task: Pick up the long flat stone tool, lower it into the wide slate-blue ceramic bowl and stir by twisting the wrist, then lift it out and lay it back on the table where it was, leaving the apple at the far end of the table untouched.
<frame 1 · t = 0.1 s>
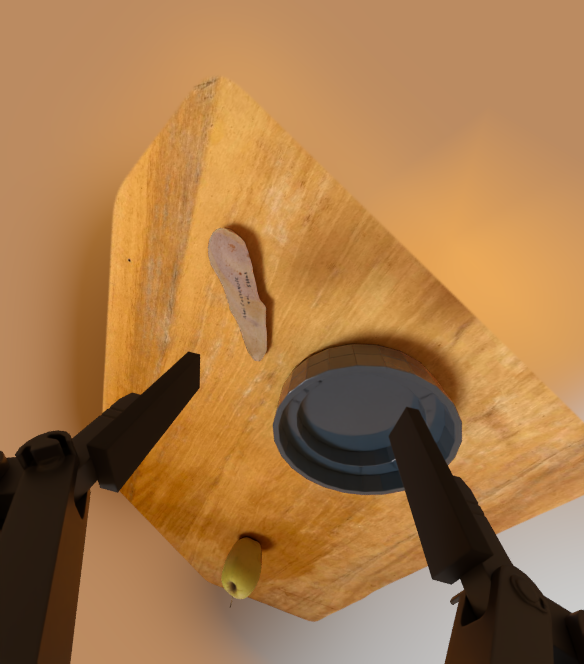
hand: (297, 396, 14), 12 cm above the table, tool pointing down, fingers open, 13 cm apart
stone tool: (246, 299, 25), on the table
apple: (249, 540, 50), on the table
bowl: (355, 408, 30), on the table
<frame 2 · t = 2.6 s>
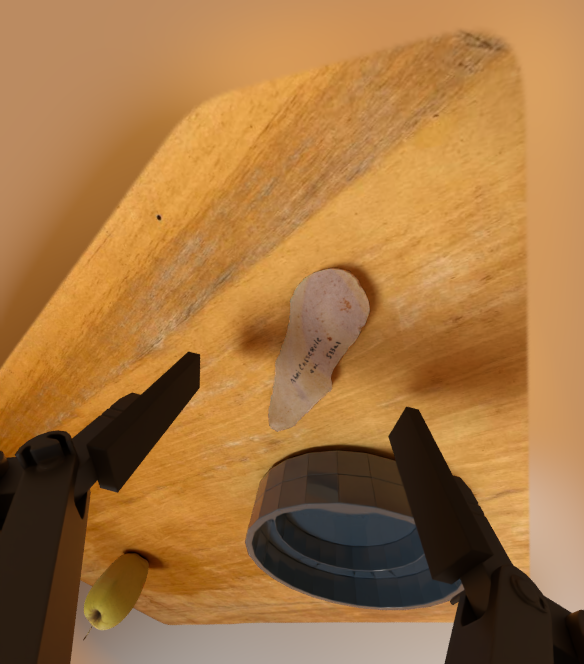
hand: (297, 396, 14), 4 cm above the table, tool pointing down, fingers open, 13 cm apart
stone tool: (305, 357, 18), on the table
apple: (137, 555, 42), on the table
bowl: (345, 505, 25), on the table
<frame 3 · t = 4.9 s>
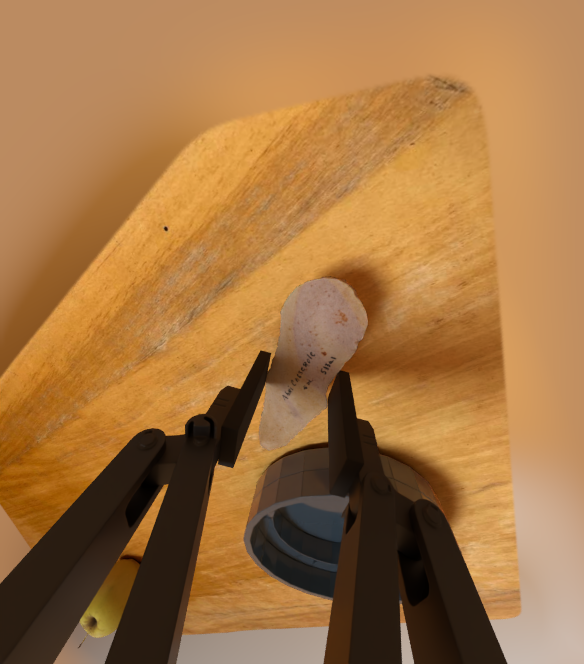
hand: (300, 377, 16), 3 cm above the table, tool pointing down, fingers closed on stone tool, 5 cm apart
stone tool: (298, 372, 16), point 2 cm above the table, touching gripper
apple: (133, 561, 42), on the table
bowl: (341, 502, 26), on the table
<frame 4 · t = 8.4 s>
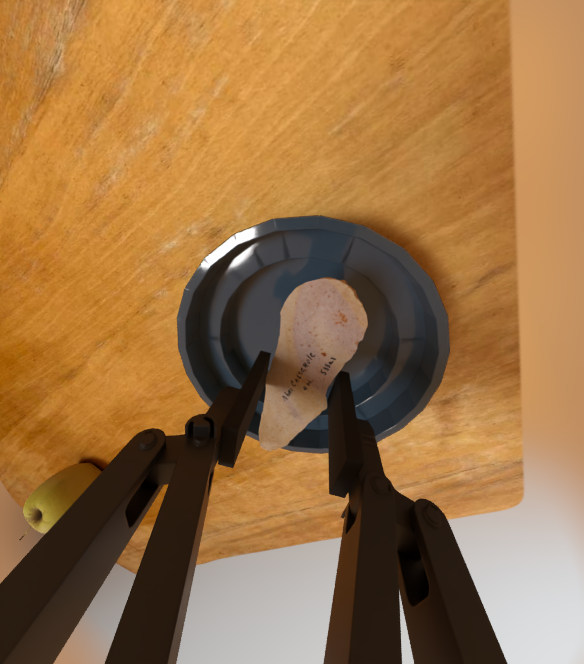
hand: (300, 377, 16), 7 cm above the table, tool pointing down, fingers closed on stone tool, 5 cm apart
stone tool: (298, 372, 16), point 6 cm above the table, touching gripper
apple: (93, 468, 38), on the table
bowl: (307, 336, 22), on the table
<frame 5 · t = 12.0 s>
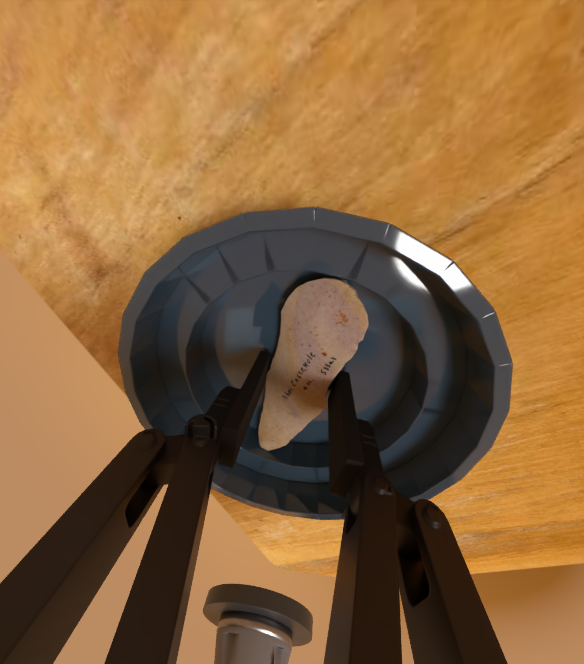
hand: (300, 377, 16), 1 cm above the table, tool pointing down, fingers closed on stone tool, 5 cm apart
stone tool: (298, 372, 16), point 1 cm above the table, touching gripper
bowl: (302, 366, 17), on the table
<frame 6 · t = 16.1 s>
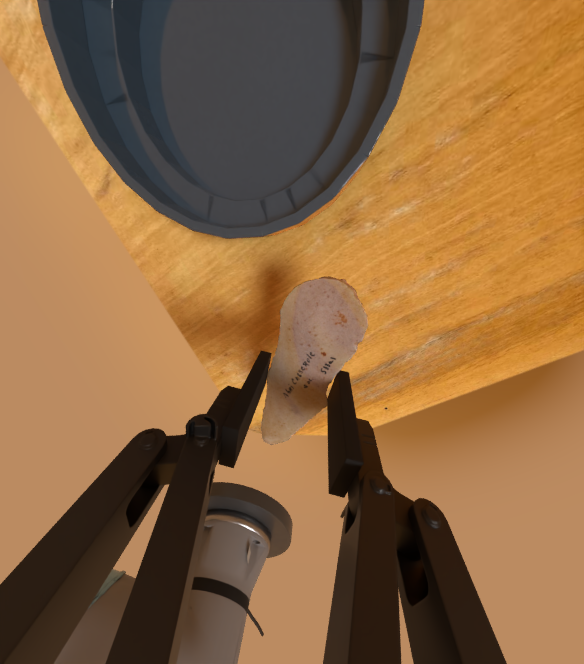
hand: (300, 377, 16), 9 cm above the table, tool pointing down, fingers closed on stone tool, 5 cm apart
stone tool: (299, 370, 16), point 8 cm above the table, touching gripper
bowl: (246, 82, 16), on the table
when the fingers open (0 cm above the table, at t = 19.4 s): stone tool stays where it is, on the table.
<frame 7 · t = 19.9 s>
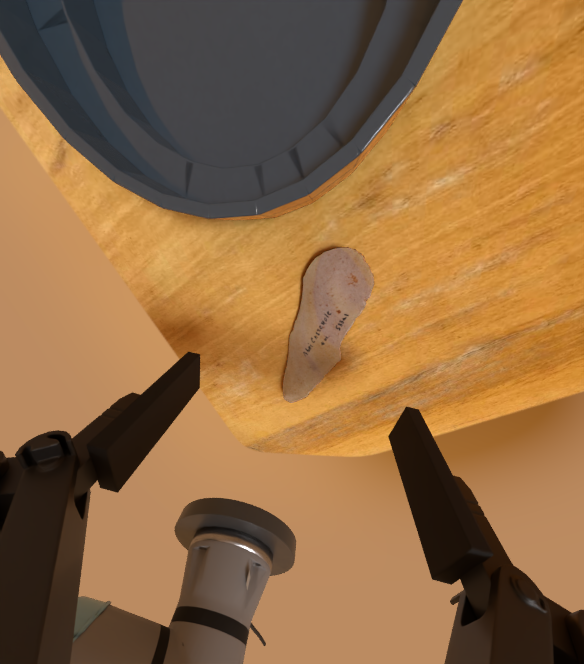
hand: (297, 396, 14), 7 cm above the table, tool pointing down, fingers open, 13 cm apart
stone tool: (316, 333, 19), on the table
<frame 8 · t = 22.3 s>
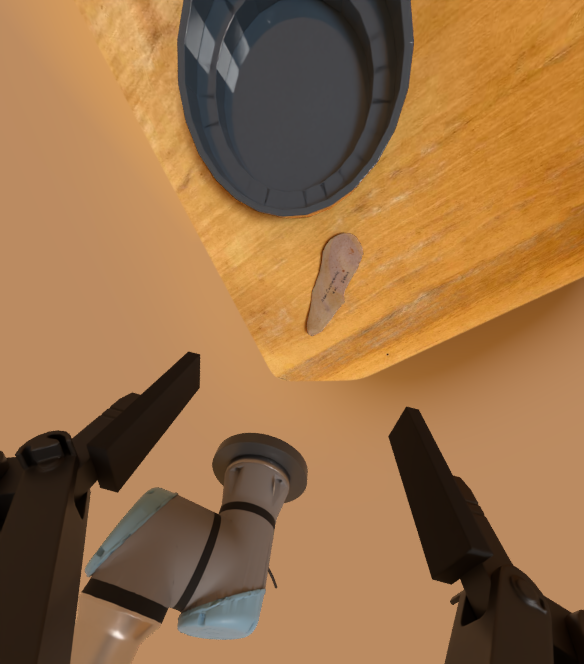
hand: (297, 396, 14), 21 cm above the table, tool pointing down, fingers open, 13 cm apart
stone tool: (328, 288, 32), on the table
bowl: (294, 112, 24), on the table
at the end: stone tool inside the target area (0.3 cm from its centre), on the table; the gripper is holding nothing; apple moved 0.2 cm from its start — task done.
